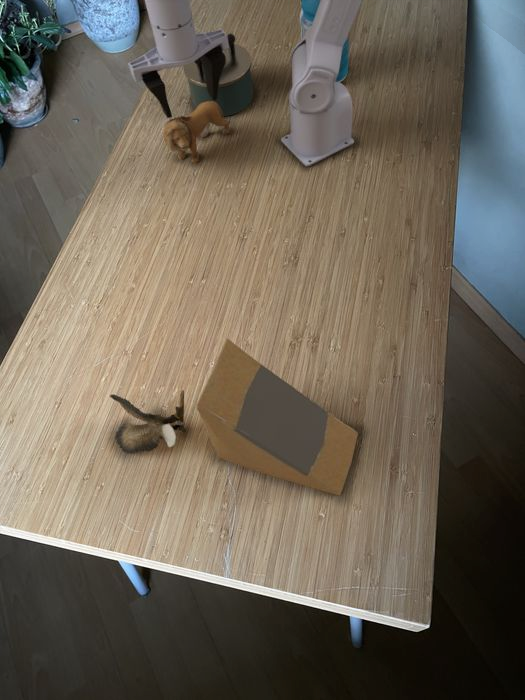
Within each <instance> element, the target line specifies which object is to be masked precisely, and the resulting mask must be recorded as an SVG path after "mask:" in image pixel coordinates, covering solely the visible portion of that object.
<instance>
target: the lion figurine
mask: <svg viewBox="0 0 525 700" xmlns="http://www.w3.org/2000/svg"><path fill="white" fill-rule="evenodd" d="M211 124H212V125H214V126H217V127H223V129H222V130H221V132H222V134H223V135H228V134H230V126H229V123H228V120H227V119H226V118H225V117H224V116H223V114H222V111H221V108H220V106H219V105H218V104H217V103H216V102H213V101H207V102H203V103H201V104H199V105H198V107H197V108H195V109H194V110H193V111H192V112H191V113H190V114H189V115H188V116H184V115H181V116H177V117H174V118H170V119H169V121H166V123H165V124H164V126H163V129H162V131H161V132H162V137H163V141H164V142H165V144H166V145H167V148H168V149H169V150H170V151H171V152H179V153H177V158H178V160H184V159H185V158H186V151H187V150H188V149H190V153H191V162H192V163H194V164H195V163H199V162H200V157H199V154H198V150H197V149H198V148H197V138H198V137H201V138H205V137H207V136H208V133H209V130H210V129H211Z"/></svg>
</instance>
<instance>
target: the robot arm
mask: <svg viewBox="0 0 525 700" xmlns="http://www.w3.org/2000/svg"><path fill="white" fill-rule="evenodd" d="M362 2H363V0H321V1H320V4H319V7H318V10H317V12H316V15H315V18H314V21H313V24H312V25H311V26H310V27H308V28H307V29H306V32H305V35H304V37H303V39H302V38H301V40H300V41H299V42H298V43H296V45H295V46H294V47H293V49H292V51H291V52H290V53H291V54H290V65H291V80H292V81H291V82H292V83H291V84H292V87H291V89H290V92H289V93H288V100H289V101H288V102H289V104H288V105H289V122H290V133H289V134H286V135H284V136H282V137H281V138H280V141H281V143H282V144H283V145H284V146H285V147H286V148H287V149H288V150H289V151H290V152H291V153H292V154H293V156H295V157H296V158H297V159H298V161H300V162H301V163H302V165H303V166H305V167H310V166H312V165H314V164H316V163H318V162H320V161H322V160H324V159H326V158H328V157H330V156H332V155H334V154H336V153H338V152H340V151H342V150H344V149H346V148H347V147H349V146H352V145H353V144H354V143H355V139H353V137H352V131H353V113H354V110H353V109H354V106H353V105H354V104H353V101H352V97H351V95H350V92H349V90H348V88H347V87H346V86H345V85H344V84H343V83H342V82H335V81H336V78H337V75H338V73H339V67H340V61H341V54H342V48H343V45H344V43H345V40H346V38H347V36H348V33H349V31H350V32H351V28H352V26H353V23H354V20H355V18H356V16H357V13H358V11H359V9H360V6H361V4H362ZM144 3H145V6H146V10H147V14H148V18H149V22H150V26H151V30H152V34H153V38H154V43H155V47H153V48H152V49H150V50H149V51H147V52H146V53H144V54H143V55H141V56H139V57H137V58H136V59H134V60H131V61H128V63H127V64H128V68H129V71H130V74H131V77H132V78H133V80H134V81H135V82H136V83H138V82H143V84H144V85H145V86H146V88H147V89H148V90H149V92H150V93H151V94H152V95H153V96H154V97H155V98H156V99H157V101H158V103H159V105H160V107H161V109H162V112H163V113H164V115H165V116H166V118H167V119H171V118H173V116H172V115H173V114H172V111H171V108H170V104H169V101H168V97H167V91H166V84H165V82H164V81H163V79H162V78H161V75H160V73H159V72H160V71H162V70H167V69H174V68H175V69H176V68H181V67H183V66H185V65H188V64H190V63H192V62H194V61H195V60H197V59H198V58H199V57H201V60H202V64H203V68H204V72H205V79H206V85H207V90H208V94H209V95H210V96H211V98H212V99H213V101H214V100H217V95H218V85H219V80H220V76H221V73H222V70H223V68H224V66H225V64H226V57H225V54H224V53H223V52H222V50H224V49H227V48H229V44H228V37H227V35H228V34H227V33H226V32H225V31H224V29H223V28H219V29H217V30H213V31H207V32H199V33H196V28H195V23H194V17H193V12H192V8H191V7H192V6H191V2H190V0H144Z"/></svg>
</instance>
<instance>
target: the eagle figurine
mask: <svg viewBox="0 0 525 700" xmlns="http://www.w3.org/2000/svg"><path fill="white" fill-rule="evenodd" d="M109 398H111V399H112V400H114V401H115V402H117V403H119V404H120V406H121V407H122V409H123V410H124V411H125V412H126V413H127V414H129V415H130V416H132V417H134V418H135V419H137V420H140V421H142V422H145V423H143V424H130V423H125V422H123V423H122V424H121V425H120V426H119V427H118V430H117V431H116V432H115V436H114V439H115V440H116V441H115V443H116V444H117V445H119V446H118V448H119V449H121V452H123V453H126V454H131V455H132V454H137V453H143V452H152V451H154V450H156V449H158V447H159V443H160V442H161V440H162V438H163V439H164V441H165V442H166V445H167V447H168V448H172V447H174V446H176V442H177V434H176V431H179V432H181V433H183V434H186V428H185V424H186V423H185V391H184V389H182V390H181V391H180V395H179V401H178V404H179V405H178V406H175V407H174V408H175V413H174V414H170V416H162V414H158V413H155V412H153V413H150V412H148V413H146V412H143V411H142V410H140V409H139V408H137V406H135V405H134V404H132V403H131V401H130V400H127V399H126V398H124V397H121V396H119V395H117V394H112V393H111V394H110V395H109ZM173 423H175V424H173Z"/></svg>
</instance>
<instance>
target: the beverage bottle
mask: <svg viewBox="0 0 525 700" xmlns="http://www.w3.org/2000/svg"><path fill="white" fill-rule="evenodd" d="M320 1H321V0H299V4H300V8H301V10H300V13H299V24H300V32H301V37H300V38H301V40H302V39H303V37H304V35H305V32H306V29H307V28H308V27H310V26H311V25H312V24H313V21H314V18H315V15H316V12H317V10H318V7H319V4H320ZM350 32H351V30H350V31H349V33H348V36H347V38H346V40H345V43H344V45H343V48H342V54H341V61H340V67H339V73H338V75H337V78H336V81H335V82H340V83H342V82H343V81H344V80H345V79H346V78H347V76H348V73H349V53H350V51H349V50H350Z"/></svg>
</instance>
